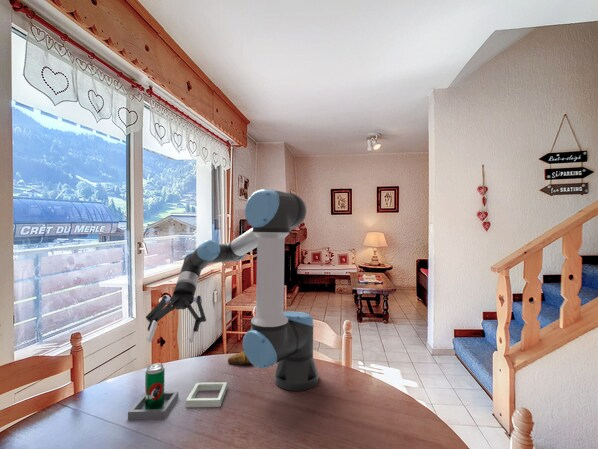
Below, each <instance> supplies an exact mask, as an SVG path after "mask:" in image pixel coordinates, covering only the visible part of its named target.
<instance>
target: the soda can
mask: <svg viewBox="0 0 598 449" xmlns="http://www.w3.org/2000/svg"><path fill="white" fill-rule="evenodd" d="M165 372H166V371H165V367H164V364H163V363H153V364H150V365H148V366H147V368H146V370H145V372H144V373H145V374H144V376H145V377H144V379H145V381H144V384H145V385H144V393H145V404H144V410H146V409H163V408H164V407H165V400H164V392H165Z"/></svg>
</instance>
